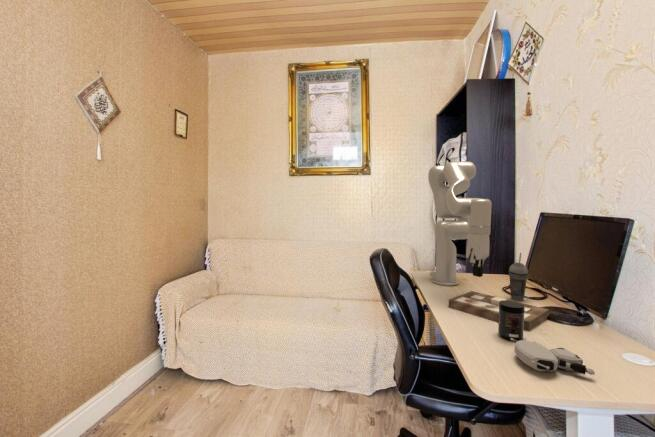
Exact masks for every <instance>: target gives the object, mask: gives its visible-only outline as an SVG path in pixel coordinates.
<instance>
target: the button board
mask: <svg viewBox="0 0 655 437" xmlns="http://www.w3.org/2000/svg"><path fill="white" fill-rule="evenodd" d="M474 295H477V296H481V297H485V299H484V300H482V301H480V300H476V299H472V298H470V297H471V296H474ZM494 297H496V296H494V295H489V294H486V293H481V292H478V291H474V290H473V291H472V290H470V291H468V292H465V293H463V294H460V295H457V296H455V297H452V298H449V299H448V308H450V309H453V310H456V311H461V312H464V313H467V314H470V315H474V316H477V317H481V318H484V319H488V320H491V321H493V322H496V323H499V305H495V304H492V303H491V299H492V298H494ZM497 297H498V296H497ZM498 298H500V297H498ZM501 298H502V297H501ZM502 299H504V298H502ZM508 300H509V301H512V299H511V300H510V299H508ZM518 302H519V303H522V304H524V305H525V307H526V308H530V309H531V311H530V312H528V313H526V312H524V331H528V332H530V331H532V330H533V329H535V328H536V327H537V326H539V325H541V324H542V323H543V322H545V321H546V320H547V317H548V315H550V309H548V308H545V307H540V306H535V305H531V304H528V303H523V302H521V301H518Z"/></svg>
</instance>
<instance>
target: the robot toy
mask: <svg viewBox="0 0 655 437" xmlns="http://www.w3.org/2000/svg"><path fill="white" fill-rule="evenodd" d="M510 339H511V340H513V341H512V342H515V343H514V353H515V355H516V357H517V358H518V359H519V360H520V361H522V362H523V363H524V364H525V365H527V366H529V367H530V368H532V369H533V370H535V371H537V372H554V371H557V369H563V370H565V371H567V372H573V371H574V372H576V373H579V374H582V375H586V373H587V374H589V375H593V376H594V375H595V370H594V369H592V368H588V367H587V365H585V364H583V363H584V361H583V359H582V357H580V356H579V355H578V354H576V353H573V352H572V351H570V350H568V349H567V348H566V349H565V348H564V347H557V348H551V349H548V348H547V347H546V346H544V345H542V344H540V343H537V342H535V341H527V340H523V339H522V340H520V341H517V340H514V339H512V338H510Z"/></svg>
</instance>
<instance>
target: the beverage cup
mask: <svg viewBox="0 0 655 437" xmlns="http://www.w3.org/2000/svg"><path fill="white" fill-rule="evenodd" d="M518 258H519V259H518V262H514V263H512V264H511V265H510V266H509V268H508V271H507V272H508V277H509V288H510V289H509V292H510V299H511V301H516V302H524V300H525V294H526V286H527V280H528V277H529V270H528V267H527V266H526V265H525V264H523V263H521V259H522V253H521V252H520V253H519V257H518Z"/></svg>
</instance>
